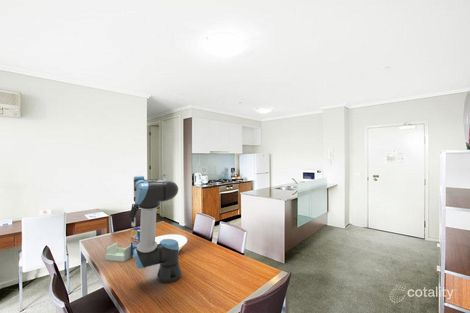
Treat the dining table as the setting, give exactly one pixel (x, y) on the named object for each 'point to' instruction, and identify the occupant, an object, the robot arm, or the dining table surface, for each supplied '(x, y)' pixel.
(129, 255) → the crate
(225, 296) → the dining table surface
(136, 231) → the beverage box
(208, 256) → the dining table surface
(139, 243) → the robot arm
